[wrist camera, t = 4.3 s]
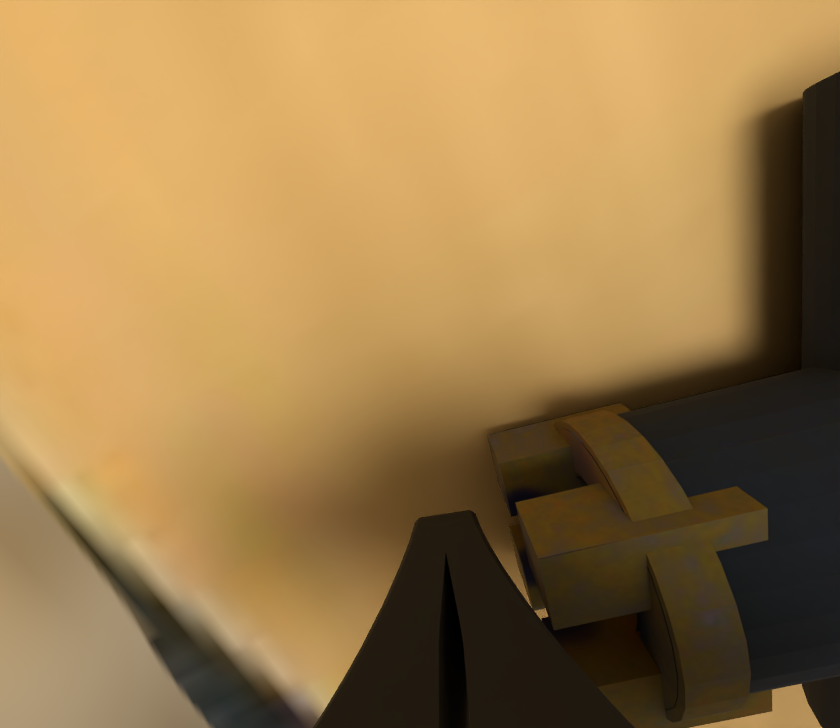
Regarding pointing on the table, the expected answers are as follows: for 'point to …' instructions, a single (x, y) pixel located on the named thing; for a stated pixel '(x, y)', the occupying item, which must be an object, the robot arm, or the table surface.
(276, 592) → the table surface
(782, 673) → the pipe connector
